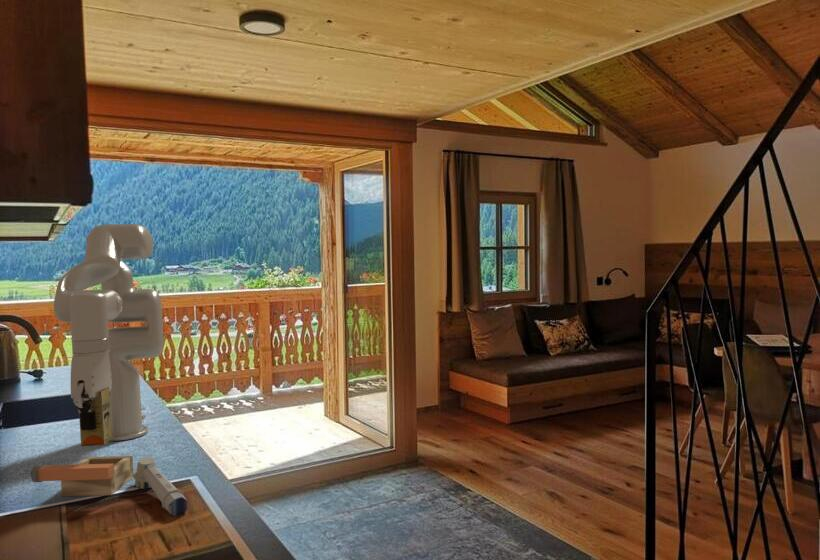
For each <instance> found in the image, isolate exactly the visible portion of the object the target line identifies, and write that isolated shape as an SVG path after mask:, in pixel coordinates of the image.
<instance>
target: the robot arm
mask: <svg viewBox="0 0 820 560" xmlns="http://www.w3.org/2000/svg"><path fill="white" fill-rule="evenodd" d="M85 239H86V240H85V243H86V248H85V253H84V258H83V261H81V262H79V263H77V265H75V266H73V267H72V268H70V269H69V270H68V271H67V272H65V273H64V274H63V275H62V276H61V278H60V279H59V281H58V283H57V286H56V291H55V293H54V294H55V295H54V299H53V314H54V316H55V318H56V319H57V320H58V321H59V322H61V323H65V324H68V323H69V324H70V333H71V334H70V335H71V352H72V354H71V355H72V357H71V365H70V398H71V399H72V400H73V401H72V403H74V405H75V406H76V407H77V409H78V410H77V411H78V414H79V413H80V419H79V426H80V425H81V430H94V429H96V416H95V412H93V408H94V398H96V397H97V396H98V392H100V391H102V390H104V389H106V388H108V387H109V395H110V413H111V430H112V439H110V440H109V441H110V442H115V441H126V440H132V439H136V438H139V437H142V436H144V435H146V434H147V433H148V432H149V428H148V426H146V425H143V420H144V419H146V414H145V413H144V412H142V399H141V398H142V397H141V379H140V373H139V371H138V369H137V368H136V367H135V366H134V364H133V363H131V360H141V359H155V358H158V357H160V356H161V355H162V354H163V353H164V352H163V351H164V344H165V343H164V342H165V341H164V338H165V337H164V326H163V325H164V322H163V307H162V299H161V296H160V294H159V293H158V291H156V290H155V289H152V288H151V289H148V288H143V289H141V288H139V289H135V287H134V274H133V271H132V269H130V267H129V266H128V265H127V264H126V263H125V262H124V261H123V260H141V259H149V258H150V257H151V255H152V253H153V251H154V239H153V236H152V234H151V232H150V231H149V229H148V228H146V227H145V226H143V225H142V224H137V223H121V224H119V223H116V224H115V223H111V224H100V225H97V226H95V227H93V228H92V229H91V230H90V232H89V234H87V236H86V238H85ZM98 285H101V286H100V287H101V289H90V288H92V287H95V286H96V287H97V286H98ZM88 288H89V289H88ZM138 322H139V323H140V322H142V323H145V324H146V325H145V326H125V327H124V326H121V327H112V328H109V323H111V324H122V323H138ZM83 396H88V397H89V398H83ZM84 401H89V405H88V404H87V403H86V402H84ZM109 441H108V442H109Z"/></svg>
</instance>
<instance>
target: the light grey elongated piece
mask: <svg viewBox="0 0 820 560" xmlns="http://www.w3.org/2000/svg"><path fill="white" fill-rule="evenodd" d="M136 467H137V468H136V469H135V470H134V474H133V479H134V481H135V482H134V485H135V487H136V488H137V489H138V488H141V489H142V490H145V489H150V488H151V489H152V491H153V492H154V493H155V495H156V496H157V498H158V499H159V501H160V502H161V508H163V509H164V510H166V511H167V512H168V513H169V514H170V515H171V516H173V517H176V516H180V515H183V514H185V513H186V512H187V510H189V500H188V499H187V498H186V497H185V493H184V492H183V491H181V490H180V489H178V488H176V486H174V484H173V483H172V482H171V481H170V480H169V479H168V478H167V477H166V476H165V475H164V474H163V473H162V472H161V471H160V470H159V469H158V468H157V466H156V461H155V460H154V459H153V458H152V457H147V456H146V457H142V458H140V459H139V461H138V462H137V466H136Z"/></svg>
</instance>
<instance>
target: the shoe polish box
mask: <svg viewBox="0 0 820 560" xmlns="http://www.w3.org/2000/svg"><path fill="white" fill-rule="evenodd" d="M83 398H89V397H88V396H83ZM84 402H86V403H87V404H88V405H89V401H84ZM93 412H95V416H96V429H94V430H81V425H80V424H79V433H80V447H89V446H90V447H92V446H105V445H106V444H108V442H109V440H110V439H112V430H111V413H110V395H109V387H108V388H106V389H104V390H102V391H100V392H98V396H97V397H96V398H94V408H93ZM78 416H79V418H78V419H79V420H80V413H79V412H78Z"/></svg>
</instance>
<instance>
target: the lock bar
mask: <svg viewBox="0 0 820 560" xmlns="http://www.w3.org/2000/svg"><path fill="white" fill-rule="evenodd" d="M112 476H114V464H80V465H75V464H53V465H50V464H49V465H47V464H46V465H45V464H36V465H34V466H33V467H32V469H31V473H30V478H31V481H32V482H33V483H42V482H57V481H60V482H61V481H63V480H97V479H110V478H111V477H112Z"/></svg>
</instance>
